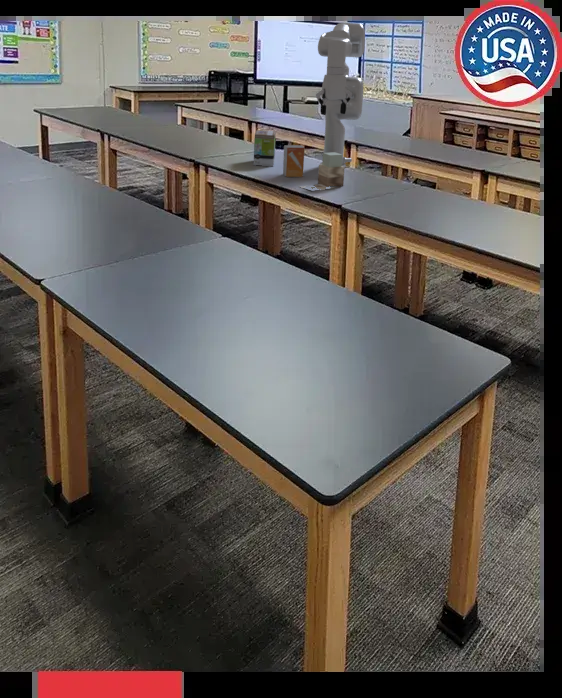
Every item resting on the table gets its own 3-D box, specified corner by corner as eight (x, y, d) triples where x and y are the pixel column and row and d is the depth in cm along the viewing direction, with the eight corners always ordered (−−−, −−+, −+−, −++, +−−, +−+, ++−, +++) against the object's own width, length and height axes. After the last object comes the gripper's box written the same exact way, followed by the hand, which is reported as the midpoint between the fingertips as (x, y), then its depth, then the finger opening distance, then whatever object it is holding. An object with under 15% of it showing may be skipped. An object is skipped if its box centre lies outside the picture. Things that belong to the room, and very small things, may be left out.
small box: (285, 177, 303) (287, 147, 298) (282, 174, 309) (283, 145, 303) (303, 177, 305) (304, 147, 299) (299, 174, 311) (301, 144, 305)
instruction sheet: (321, 184, 292) (321, 183, 292) (334, 188, 285) (334, 188, 285) (299, 187, 285) (299, 186, 285) (311, 191, 279) (311, 190, 279)
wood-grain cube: (333, 182, 297) (335, 163, 294) (343, 185, 291) (344, 167, 287) (317, 183, 294) (319, 164, 290) (327, 187, 287) (328, 168, 284)
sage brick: (334, 164, 292) (334, 152, 290) (341, 166, 288) (342, 154, 285) (322, 164, 290) (322, 152, 288) (329, 167, 285) (330, 155, 283)
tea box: (274, 166, 325) (275, 134, 319) (253, 165, 325) (253, 134, 319) (274, 161, 339) (275, 130, 332) (254, 160, 339) (255, 129, 332)
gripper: (348, 70, 290) (345, 112, 298) (313, 70, 283) (311, 113, 291) (357, 72, 284) (354, 114, 292) (322, 72, 277) (319, 116, 285)
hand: (333, 114), depth 292 cm, fingers open, 9 cm apart
